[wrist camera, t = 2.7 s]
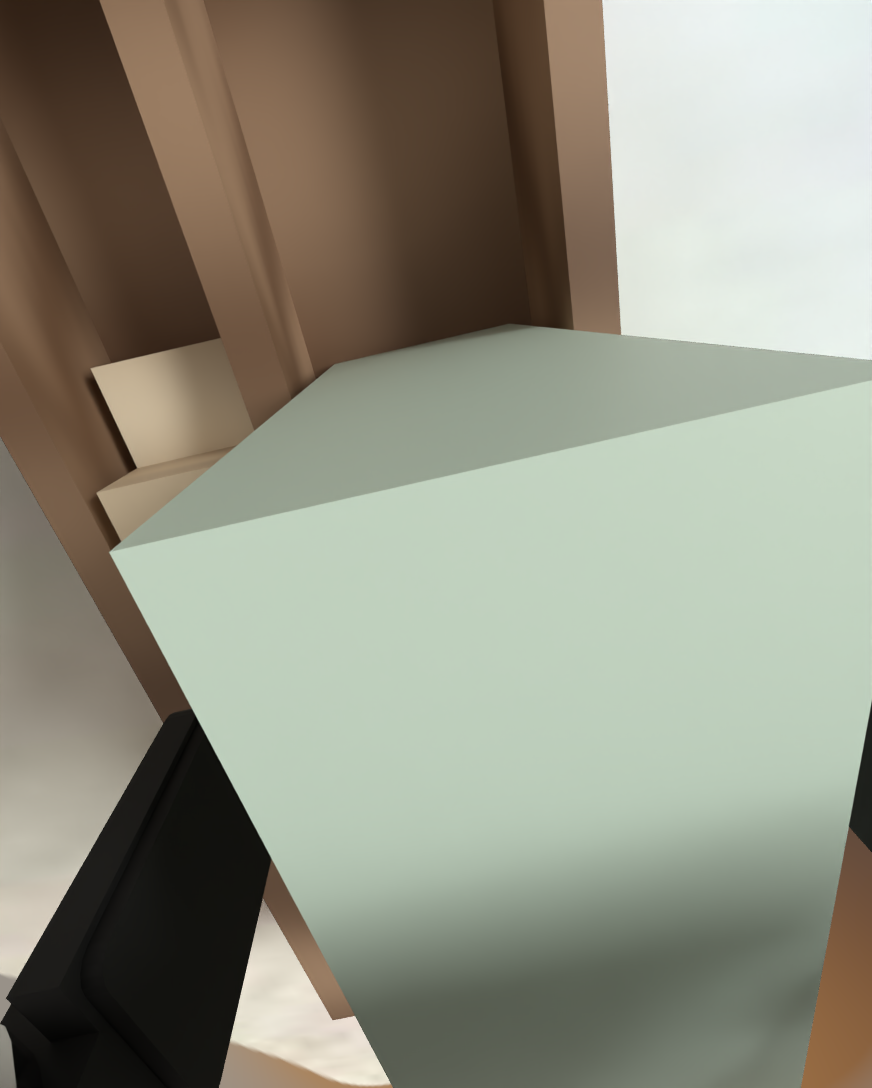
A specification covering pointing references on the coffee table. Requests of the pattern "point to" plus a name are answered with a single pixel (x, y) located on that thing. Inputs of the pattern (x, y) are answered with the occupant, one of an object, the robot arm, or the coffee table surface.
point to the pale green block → (544, 692)
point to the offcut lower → (175, 402)
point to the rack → (278, 222)
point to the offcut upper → (152, 489)
